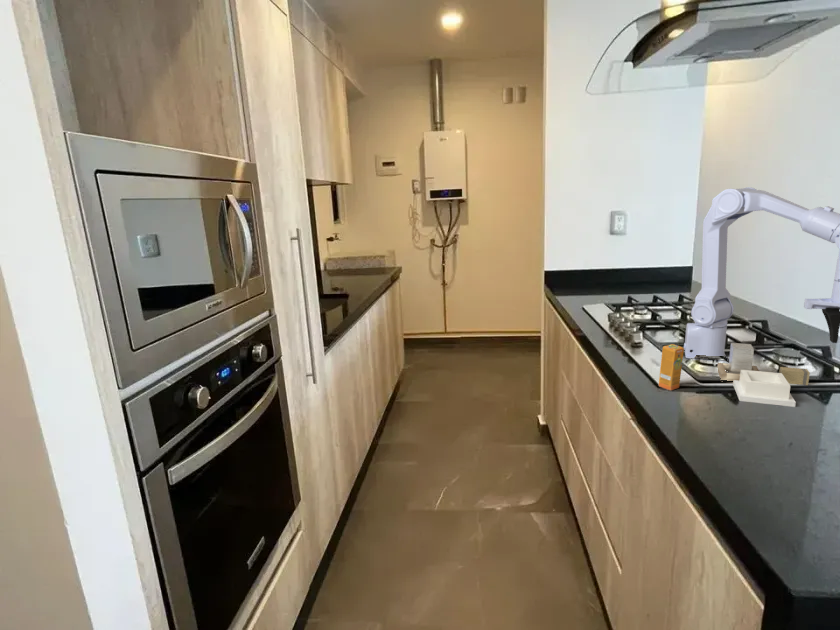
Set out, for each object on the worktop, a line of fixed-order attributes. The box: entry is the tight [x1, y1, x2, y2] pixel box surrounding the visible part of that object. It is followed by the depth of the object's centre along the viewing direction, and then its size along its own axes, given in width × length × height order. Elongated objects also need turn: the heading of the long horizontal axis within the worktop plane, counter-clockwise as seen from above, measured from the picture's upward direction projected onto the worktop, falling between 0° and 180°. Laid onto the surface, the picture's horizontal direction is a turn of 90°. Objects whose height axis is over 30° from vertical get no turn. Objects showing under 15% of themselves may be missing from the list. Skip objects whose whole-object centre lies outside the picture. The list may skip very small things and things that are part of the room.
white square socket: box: [732, 370, 797, 408], centre depth 104 cm, size 10×10×4 cm
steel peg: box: [727, 342, 755, 374], centre depth 113 cm, size 4×4×8 cm
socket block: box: [716, 362, 760, 381], centre depth 114 cm, size 8×8×2 cm
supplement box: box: [658, 343, 685, 391], centre depth 110 cm, size 3×3×10 cm
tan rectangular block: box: [778, 366, 810, 386], centre depth 110 cm, size 5×2×3 cm, turn 65°
